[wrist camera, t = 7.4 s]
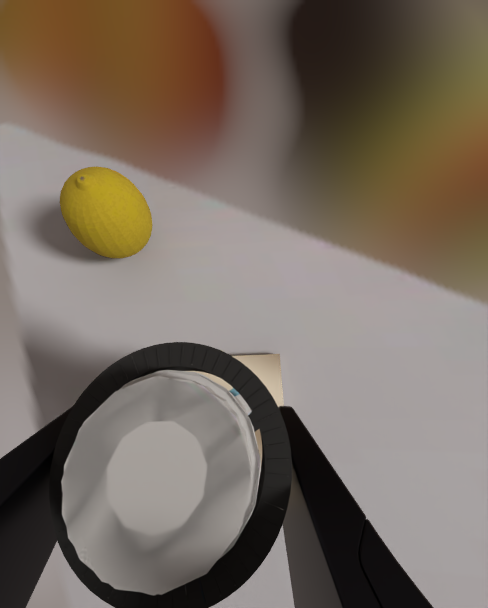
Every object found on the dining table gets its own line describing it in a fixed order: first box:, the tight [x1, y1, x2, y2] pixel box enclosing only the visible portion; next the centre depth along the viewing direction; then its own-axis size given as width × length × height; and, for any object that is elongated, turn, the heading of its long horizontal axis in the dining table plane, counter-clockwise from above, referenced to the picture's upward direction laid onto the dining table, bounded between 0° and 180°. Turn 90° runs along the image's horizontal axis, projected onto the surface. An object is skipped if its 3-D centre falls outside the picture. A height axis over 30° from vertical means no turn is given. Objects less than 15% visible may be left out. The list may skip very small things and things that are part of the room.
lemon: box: [60, 167, 152, 258], centre depth 20 cm, size 6×6×8 cm
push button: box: [49, 342, 292, 608], centre depth 10 cm, size 7×5×10 cm
